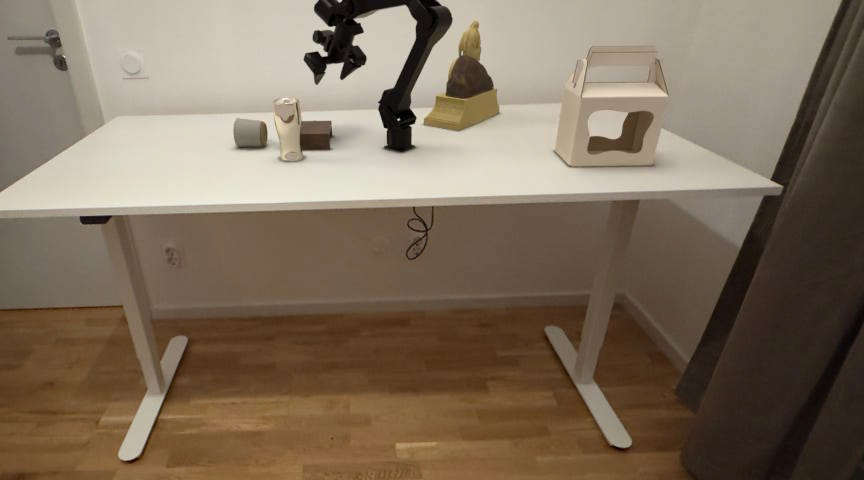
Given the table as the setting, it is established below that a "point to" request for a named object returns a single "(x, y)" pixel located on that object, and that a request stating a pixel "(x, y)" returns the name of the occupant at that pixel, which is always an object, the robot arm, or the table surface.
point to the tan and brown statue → (465, 89)
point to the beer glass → (288, 128)
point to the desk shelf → (316, 135)
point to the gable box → (632, 97)
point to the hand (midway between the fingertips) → (328, 81)
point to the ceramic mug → (250, 133)
